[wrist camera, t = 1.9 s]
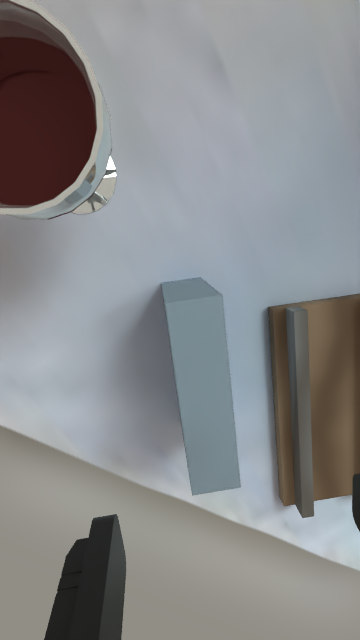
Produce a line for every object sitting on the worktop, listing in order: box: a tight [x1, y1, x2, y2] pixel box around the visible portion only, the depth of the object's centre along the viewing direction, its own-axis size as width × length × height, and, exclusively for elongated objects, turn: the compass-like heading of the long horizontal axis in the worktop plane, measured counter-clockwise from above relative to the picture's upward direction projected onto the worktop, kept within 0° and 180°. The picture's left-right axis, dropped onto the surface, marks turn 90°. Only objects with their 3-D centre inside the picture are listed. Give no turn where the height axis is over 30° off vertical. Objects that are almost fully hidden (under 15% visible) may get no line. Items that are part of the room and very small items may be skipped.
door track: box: [268, 294, 360, 518], centre depth 27 cm, size 9×18×2 cm, turn 7°
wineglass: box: [0, 0, 116, 219], centre depth 17 cm, size 7×7×12 cm
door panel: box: [161, 277, 241, 495], centre depth 23 cm, size 3×12×8 cm, turn 7°
